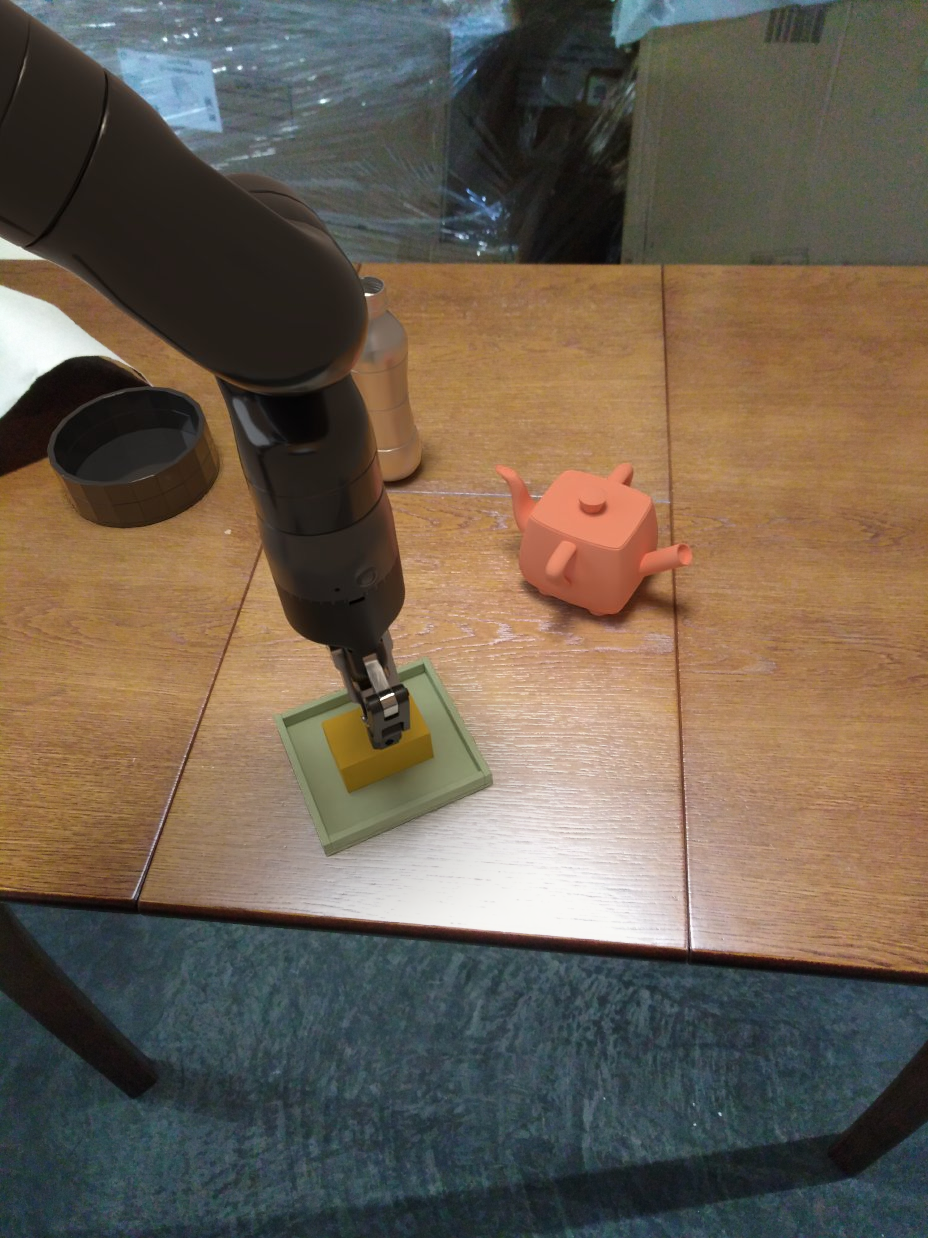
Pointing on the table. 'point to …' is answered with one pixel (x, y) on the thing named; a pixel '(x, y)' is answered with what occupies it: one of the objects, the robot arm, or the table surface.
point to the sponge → (367, 763)
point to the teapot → (590, 538)
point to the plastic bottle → (387, 385)
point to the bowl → (134, 456)
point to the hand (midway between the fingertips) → (372, 712)
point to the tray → (396, 795)
